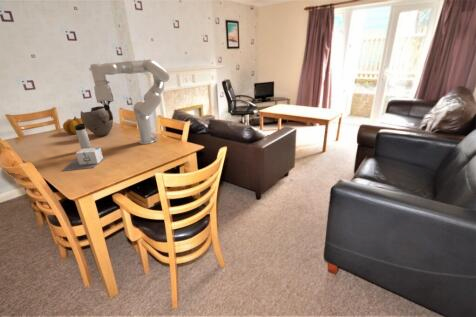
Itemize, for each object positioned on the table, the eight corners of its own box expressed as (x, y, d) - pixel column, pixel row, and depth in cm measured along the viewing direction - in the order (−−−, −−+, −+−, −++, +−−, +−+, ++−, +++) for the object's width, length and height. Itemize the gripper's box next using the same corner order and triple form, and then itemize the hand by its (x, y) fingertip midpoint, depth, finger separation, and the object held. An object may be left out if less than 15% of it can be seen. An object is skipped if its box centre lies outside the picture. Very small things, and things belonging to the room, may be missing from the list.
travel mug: (94, 149, 182) (86, 123, 174) (86, 152, 176) (78, 126, 168) (88, 148, 184) (80, 123, 176) (80, 151, 178) (72, 125, 170)
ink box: (103, 158, 162) (85, 159, 161) (100, 147, 159) (82, 148, 158) (97, 164, 154) (79, 165, 153) (94, 151, 151) (75, 152, 150)
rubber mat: (102, 157, 166) (102, 156, 166) (93, 167, 150) (93, 167, 149) (74, 159, 163) (74, 159, 163) (61, 171, 147) (61, 170, 147)
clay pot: (122, 133, 219) (115, 106, 209) (96, 141, 200) (87, 111, 191) (107, 130, 231) (100, 104, 221) (81, 137, 213) (72, 109, 203)
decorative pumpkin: (76, 129, 240) (71, 114, 234) (96, 129, 236) (91, 114, 231) (59, 135, 221) (54, 119, 215) (81, 135, 218) (76, 119, 212)
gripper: (114, 82, 166) (120, 108, 174) (91, 83, 164) (98, 110, 171) (111, 83, 160) (117, 110, 167) (86, 84, 157) (94, 112, 164)
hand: (107, 110), depth 169 cm, fingers closed
